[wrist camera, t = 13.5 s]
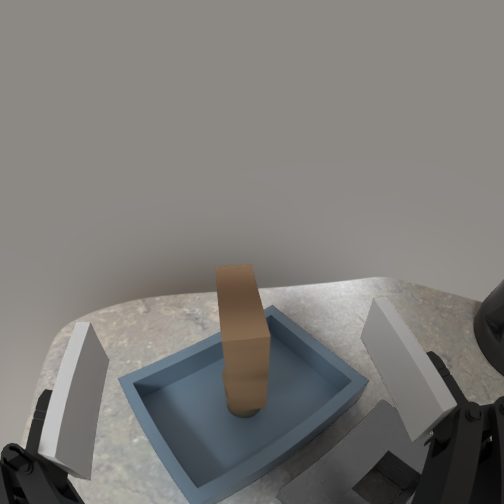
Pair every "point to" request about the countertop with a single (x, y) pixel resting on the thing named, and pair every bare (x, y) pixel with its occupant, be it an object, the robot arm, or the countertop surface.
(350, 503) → the socket block
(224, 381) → the key
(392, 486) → the countertop surface
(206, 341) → the tray
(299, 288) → the countertop surface
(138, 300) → the countertop surface
